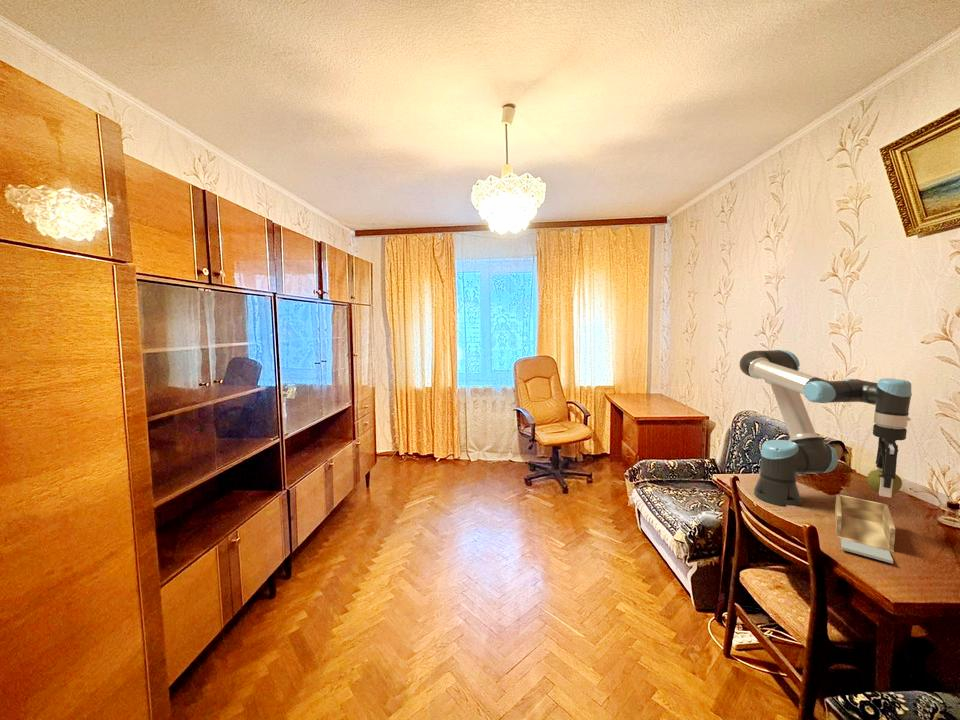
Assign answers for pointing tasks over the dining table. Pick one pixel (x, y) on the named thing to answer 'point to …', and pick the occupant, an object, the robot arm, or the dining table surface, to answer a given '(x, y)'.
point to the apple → (875, 480)
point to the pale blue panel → (866, 550)
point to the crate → (864, 522)
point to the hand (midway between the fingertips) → (882, 491)
